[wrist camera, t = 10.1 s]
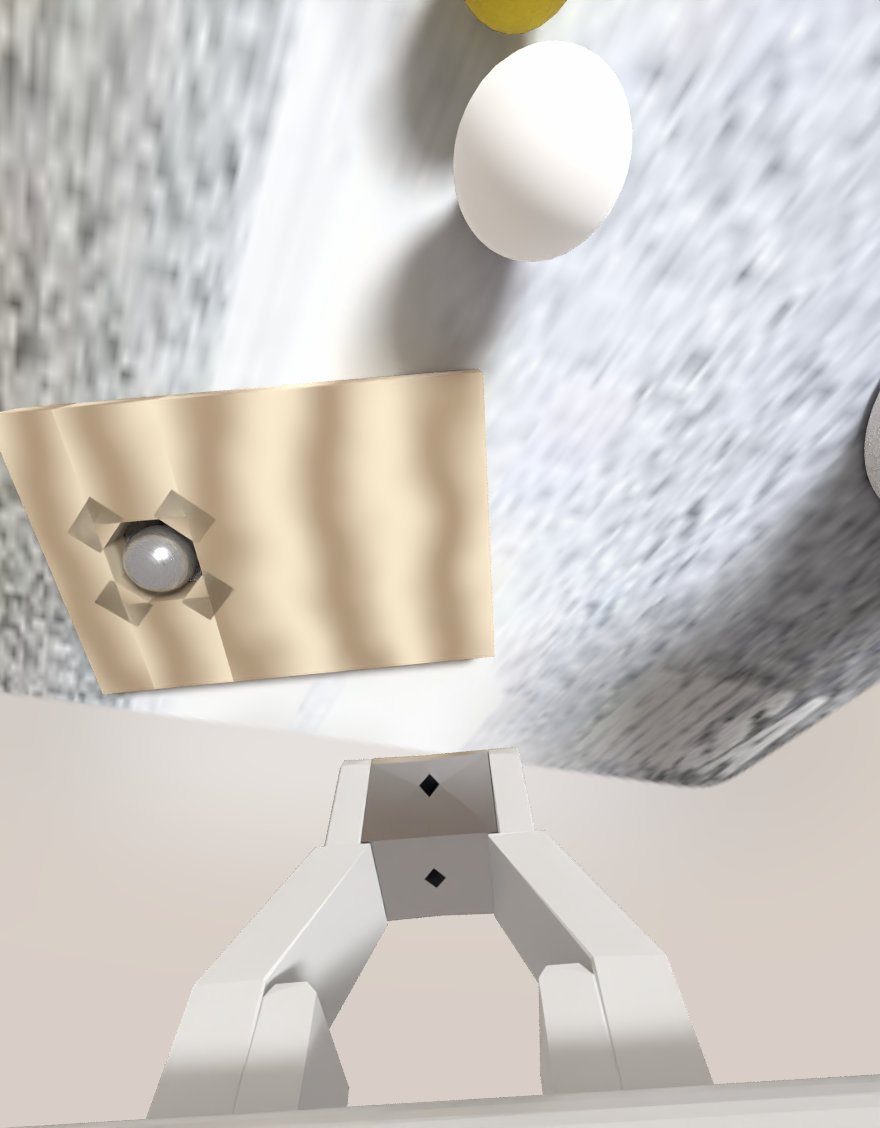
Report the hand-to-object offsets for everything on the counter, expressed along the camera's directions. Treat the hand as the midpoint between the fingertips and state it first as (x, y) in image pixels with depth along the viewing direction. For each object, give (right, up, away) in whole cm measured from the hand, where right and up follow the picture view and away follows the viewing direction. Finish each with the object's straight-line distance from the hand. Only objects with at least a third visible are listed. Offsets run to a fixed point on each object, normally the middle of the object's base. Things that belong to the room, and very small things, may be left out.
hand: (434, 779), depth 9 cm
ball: (-17, +4, +23) cm, 28 cm away
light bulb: (+4, +22, +18) cm, 29 cm away
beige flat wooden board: (-10, +6, +25) cm, 27 cm away
